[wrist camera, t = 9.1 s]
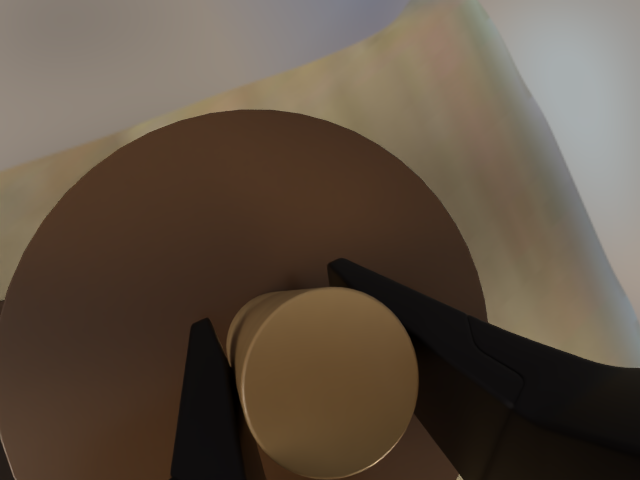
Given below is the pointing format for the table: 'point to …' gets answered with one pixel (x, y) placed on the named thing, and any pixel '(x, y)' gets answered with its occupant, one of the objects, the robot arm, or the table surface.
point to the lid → (229, 303)
